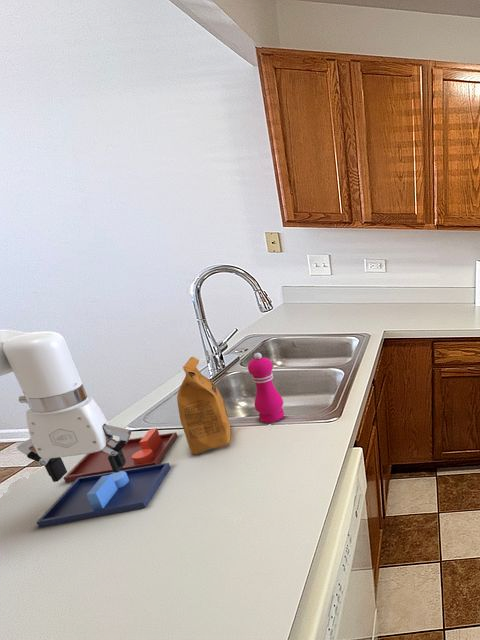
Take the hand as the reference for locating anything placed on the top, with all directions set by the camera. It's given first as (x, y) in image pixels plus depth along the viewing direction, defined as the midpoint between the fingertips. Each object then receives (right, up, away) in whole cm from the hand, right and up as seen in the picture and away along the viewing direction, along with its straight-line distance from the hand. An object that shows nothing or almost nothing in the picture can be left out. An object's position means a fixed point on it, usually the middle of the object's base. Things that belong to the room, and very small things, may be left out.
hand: (90, 472), depth 80 cm
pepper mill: (+19, +6, +34) cm, 39 cm away
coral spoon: (-3, 0, +18) cm, 18 cm away
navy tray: (0, -6, +4) cm, 7 cm away
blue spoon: (0, -6, +4) cm, 7 cm away
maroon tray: (-7, -1, +16) cm, 18 cm away
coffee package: (+9, +2, +23) cm, 25 cm away
